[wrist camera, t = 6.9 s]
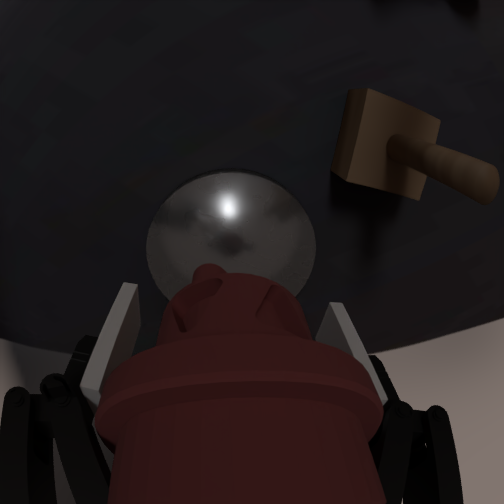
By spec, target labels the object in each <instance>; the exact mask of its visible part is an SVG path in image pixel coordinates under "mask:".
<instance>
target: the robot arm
mask: <svg viewBox="0 0 504 504" xmlns="http://www.w3.org/2000/svg"><path fill="white" fill-rule="evenodd" d="M140 325H141V321H140V310H139V297H138V284H131V283H123V285H122V287H121V289H120V291H119V293H118V295H117V298H116V300H115V302H114V304H113V306H112V308H111V310H110V313H109V315H108V317H107V319H106V322H105V324H104V326H103V328H102V331H101V333H100V335H99V338H98V337H93V336H88V335H85V336H84V337H83V338H82V339H81V340H80V341H79V342H78V344H77V346H76V348H75V350H74V353H73V355H72V357H71V360H70V362H69V364H68V366H67V369H66V371H65V373H64V375H62V374H58V373H56V374H55V373H54V374H50V375H47V376H46V377H45V378H44V379H43V380H42V382H41V384H40V391H41V393H42V394H29V392H28V391H27V390H26V389H25V388H23V387H13V388H11V389H9V391H8V392H7V393H6V395H5V397H4V403H3V410H2V417H1V426H0V504H57V500H56V491H55V480H54V465H53V438H55V440H56V444H57V448H58V452H59V455H60V459H61V462H62V465H63V468H64V471H65V474H66V477H67V480H68V483H69V486H70V489H71V491H72V494H73V496H74V499H75V501H76V504H107V502H108V494H109V486H110V479H111V472H110V470H109V467H108V465H107V463H106V460H105V458H104V455H103V453H102V450H101V447H100V445H99V442H98V440H97V437H96V434H95V431H94V428H93V426H92V421H93V418H94V417H95V414H96V411H97V407H98V404H99V401H100V397H101V394H102V391H103V387H104V384H105V381H106V380H107V378H108V377H109V375H110V374H111V372H112V371H113V370H114V369H116V368H117V367H118V366H119V365H120V364H121V363H122V362H124V361H126V360H127V359H129V358H131V355H132V352H133V348H134V345H135V342H136V338H137V335H138V332H139V328H140ZM315 339H316V341H318V342H321V343H324V344H327V345H330V346H333V347H336V348H338V349H340V350H342V351H344V352H346V353H348V354H350V355H352V356H353V357H354V358H355V359H357V360H358V361H359V362H360V363H362V364H363V366H364V367H365V368H366V370H367V371H368V373H369V374H370V377H371V379H372V381H373V383H374V386H375V388H376V390H377V392H378V395H379V397H380V399H381V402H382V404H383V411H384V413H383V418H382V422H381V424H380V426H379V428H378V430H377V432H376V433H375V435H374V436H373V437H372V439H371V440H370V441H369V442H368V445H369V448H370V451H371V454H372V457H373V460H374V463H375V466H376V469H377V472H378V475H379V479H380V482H381V485H382V488H383V491H384V495H385V498H386V501H387V503H386V504H401V502H402V498H403V504H463V494H462V486H461V478H460V472H459V465H458V460H457V454H456V448H455V443H454V439H453V434H452V430H451V425H450V421H449V417H448V414H447V412H446V411H445V409H444V408H442V407H441V406H438V405H434V406H431V407H430V408H429V409H428V410H427V411H420V410H413V409H412V407H411V406H410V405H409V404H408V403H406V402H404V401H401V400H400V399H399V397H398V395H397V392H396V390H395V388H394V386H393V384H392V382H391V380H390V378H389V376H388V374H387V372H386V371H385V368H384V366H383V364H382V362H381V361H380V360H379V359H378V358H377V357H376V356H375V355H367V353H366V350H365V348H364V346H363V344H362V342H361V340H360V338H359V336H358V334H357V332H356V330H355V328H354V326H353V324H352V322H351V320H350V318H349V316H348V314H347V312H346V310H345V308H344V306H343V304H342V303H333V302H330V303H329V305H328V308H327V311H326V313H325V316H324V318H323V321H322V323H321V326H320V328H319V331H318V333H317V336H316V338H315ZM425 443H426V445H425Z"/></svg>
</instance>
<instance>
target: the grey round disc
mask: <svg viewBox="0 0 504 504" xmlns="http://www.w3.org/2000/svg"><path fill="white" fill-rule="evenodd" d="M315 251H316V246H315V236H314V231H313V228H312V225H311V222H310V220H309V218H308V216H307V214H306V212H305V211H304V209H303V208H302V206H301V205H300V203H299V202H298V201H297V199H296V198H295V197H294V196H293V194H292V193H291V192H290V191H289V190H287V189H286V188H285V187H284V186H283V185H281V184H280V183H279V182H277V181H276V180H274V179H272V178H270V177H268V176H266V175H263V174H261V173H258V172H255V171H250V170H246V169H236V168H227V169H217V170H212V171H208V172H205V173H202V174H199V175H196V176H194V177H192V178H190V179H188V180H187V181H185V182H184V183H182V184H181V185H179V186H178V187H177V188H176V189H175V190H174V191H173V192H171V193H170V195H169V196H168V197H167V198H166V199H165V201H164V202H163V203H162V205H161V207H160V208H159V210H158V212H157V213H156V215H155V217H154V218H153V221H152V223H151V226H150V228H149V232H148V237H147V245H146V252H147V261H148V266H149V269H150V272H151V275H152V277H153V279H154V281H155V283H156V285H157V286H158V288H159V289H160V290H161V292H162V293H163V294H164V295H165V296H166V297H167V298H168V300H171V299H172V298H173V297H174V295H175V294H176V293H177V292H179V291H180V290H181V289H183V288H184V287H185V286H187V285H189V284H191V283H192V277H193V273H194V271H195V270H196V268H197V267H199V266H200V265H203V264H207V263H212V264H216V265H218V266H220V267H222V268H223V269H224V270H225V271H226V272H227V273H246V274H253V275H257V276H261V277H265V278H267V279H270V280H272V281H274V282H277V283H278V284H280V285H281V286H283V287H284V288H286V289H287V290H288V291H289V292H290V293H292V294H293V295H294V296H296V295H297V294H298V293H299V292H300V291H301V289H302V288H303V286H304V285H305V283H306V281H307V280H308V278H309V276H310V273H311V271H312V268H313V264H314V260H315Z"/></svg>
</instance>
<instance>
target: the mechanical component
mask: <svg viewBox="0 0 504 504" xmlns="http://www.w3.org/2000/svg"><path fill="white" fill-rule="evenodd" d="M383 413H384V411H383V404H382V402H381V399H380V397H379V395H378V392H377V390H376V388H375V386H374V383H373V381H372V379H371V377H370V374H369V373H368V371H367V370H366V368H365V367H364V366H363V364H362V363H360V362H359V361H358V360H357V359H355V358H354V357H353V356H352V355H350V354H348V353H346V352H344V351H342V350H340V349H338V348H336V347H333V346H330V345H327V344H324V343H321V342H318V341H313V340H312V337H311V333H310V330H309V327H308V324H307V321H306V319H305V315H304V313H303V310H302V308H301V305H300V303H299V302H298V300H297V299H296V298H295V296H294V295H293V294H292V293H290V292H289V291H288V290H287V289H286V288H284V287H283V286H281V285H280V284H278V283H277V282H274V281H272V280H270V279H267V278H265V277H261V276H257V275H253V274H246V273H227V272H226V271H225V270H224V269H223V268H222V267H220V266H218V265H216V264H212V263H207V264H203V265H200V266H199V267H197V268H196V270H195V271H194V273H193V277H192V283H191V284H189V285H187V286H185V287H184V288H183V289H181V290H180V291H179V292H177V293H176V294H175V295H174V297H173V298H172V299H171V300H170V301H169V303H168V304H167V307H166V309H165V311H164V313H163V317H162V321H161V325H160V330H159V334H158V338H157V343H156V347H153V348H151V349H148V350H146V351H143V352H140V353H138V354H136V355H134V356H133V357H131V358H129V359H127V360H126V361H124V362H122V363H121V364H120V365H119V366H118V367H117V368H116V369H114V370H113V371H112V372H111V374H110V375H109V377H108V378H107V380H106V381H105V384H104V387H103V391H102V394H101V397H100V401H99V404H98V407H97V411H96V414H95V427H96V430H97V433H98V435H99V436H100V438H101V440H102V441H103V443H104V444H105V445H106V447H107V448H108V449H109V450H110V451H111V452H112V453H113V454H114V460H113V466H112V472H111V479H110V486H109V494H108V502H107V504H386V503H387V501H386V498H385V495H384V491H383V488H382V485H381V482H380V479H379V475H378V472H377V469H376V466H375V463H374V460H373V457H372V454H371V451H370V448H369V445H368V442H369V441H370V440H371V439H372V437H373V436H374V435H375V433H376V432H377V430H378V428H379V426H380V424H381V422H382V418H383Z"/></svg>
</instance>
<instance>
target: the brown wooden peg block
mask: <svg viewBox="0 0 504 504" xmlns="http://www.w3.org/2000/svg"><path fill="white" fill-rule="evenodd" d="M440 121H441V120H439V119H437V118H435V117H433V116H431V115H429V114H427V113H425V112H423V111H421V110H419V109H417V108H414V107H412V106H410V105H408V104H406V103H403V102H401V101H399V100H396V99H394V98H392V97H389V96H387V95H384V94H382V93H379V92H377V91H374V90H371V89H369V88H364V89H350V90H349V91H348V96H347V100H346V105H345V110H344V114H343V119H342V123H341V128H340V132H339V137H338V141H337V145H336V149H335V154H334V158H333V162H332V166H331V171H332V172H334V173H335V174H337V175H338V176H340V177H341V178H342V179H344V180H345V181H348V182H352V183H356V184H360V185H364V186H368V187H372V188H376V189H380V190H384V191H387V192H391V193H395V194H398V195H402V196H405V197H409V198H412V199H416V200H419V199H420V196H421V193H422V190H423V187H424V183H425V180H426V177H427V176H429V177H431V178H433V179H435V180H437V181H439V182H441V183H443V184H445V185H447V186H449V187H451V188H453V189H455V190H457V191H458V192H460V193H462V194H464V195H466V196H468V197H469V198H471V199H473V200H475V201H476V202H478V203H480V204H482V205H487V204H489V203H491V202H492V201H493V199H494V198H495V196H496V194H497V192H498V188H499V174H498V171H497V169H496V168H495V166H493V165H491V164H489V163H486V162H484V161H481V160H479V159H476V158H473V157H471V156H468V155H465V154H463V153H460V152H457V151H454V150H451V149H448V148H445V147H442V146H439V145H436V144H435V143H436V139H437V135H438V130H439V126H440Z"/></svg>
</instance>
